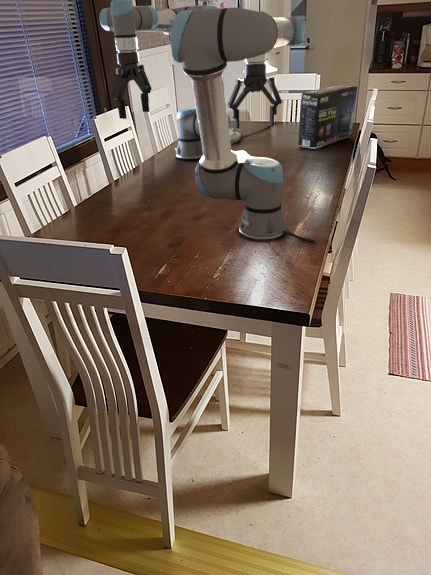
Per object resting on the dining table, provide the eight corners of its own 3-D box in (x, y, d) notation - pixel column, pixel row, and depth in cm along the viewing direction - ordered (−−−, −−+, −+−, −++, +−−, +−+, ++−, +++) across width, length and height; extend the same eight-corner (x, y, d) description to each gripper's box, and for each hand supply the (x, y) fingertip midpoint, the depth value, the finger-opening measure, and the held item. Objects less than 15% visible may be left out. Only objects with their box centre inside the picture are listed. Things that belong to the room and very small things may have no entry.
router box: (314, 151, 231) (318, 94, 217) (296, 148, 237) (299, 92, 224) (352, 138, 251) (358, 85, 238) (335, 135, 258) (340, 83, 245)
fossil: (234, 138, 244) (215, 120, 247) (224, 155, 250) (206, 137, 254) (251, 137, 258) (232, 120, 261) (240, 153, 264) (223, 136, 267)
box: (265, 192, 182) (266, 168, 177) (247, 195, 180) (247, 170, 175) (243, 172, 205) (243, 150, 200) (227, 174, 204) (226, 152, 199)
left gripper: (140, 48, 171) (147, 108, 182) (94, 54, 153) (104, 120, 164) (157, 48, 168) (162, 109, 179) (111, 54, 150) (121, 122, 161)
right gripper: (284, 59, 165) (282, 121, 176) (217, 64, 160) (219, 127, 171) (292, 61, 159) (289, 125, 170) (223, 66, 154) (225, 131, 165)
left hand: (135, 115), depth 171 cm, fingers open, 13 cm apart
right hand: (254, 126), depth 171 cm, fingers open, 13 cm apart
